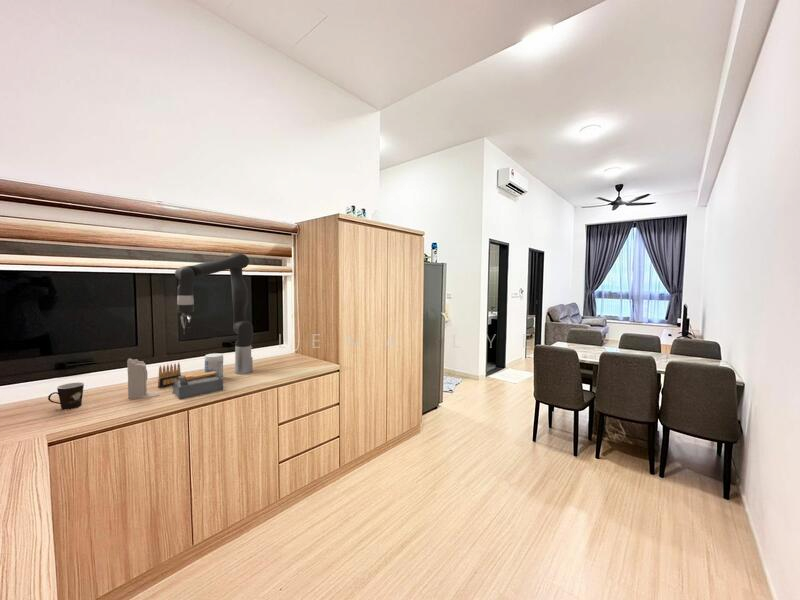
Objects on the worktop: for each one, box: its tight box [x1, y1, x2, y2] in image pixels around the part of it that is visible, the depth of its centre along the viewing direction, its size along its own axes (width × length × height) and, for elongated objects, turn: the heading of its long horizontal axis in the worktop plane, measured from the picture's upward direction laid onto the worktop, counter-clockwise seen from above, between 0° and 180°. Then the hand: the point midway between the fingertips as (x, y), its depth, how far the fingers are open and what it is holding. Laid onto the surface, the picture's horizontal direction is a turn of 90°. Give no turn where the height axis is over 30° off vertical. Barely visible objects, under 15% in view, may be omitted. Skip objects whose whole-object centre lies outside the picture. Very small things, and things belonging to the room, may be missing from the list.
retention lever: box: [183, 371, 216, 379], centre depth 173 cm, size 14×4×2 cm, turn 135°
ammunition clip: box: [157, 362, 182, 389], centre depth 180 cm, size 11×2×12 cm, turn 145°
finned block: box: [172, 370, 224, 400], centre depth 173 cm, size 20×14×9 cm
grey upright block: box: [126, 358, 163, 400], centre depth 164 cm, size 7×14×20 cm, turn 119°
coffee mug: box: [47, 381, 85, 411], centre depth 147 cm, size 12×9×10 cm
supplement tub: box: [204, 352, 224, 379], centre depth 192 cm, size 10×10×15 cm
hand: (186, 334), depth 180 cm, fingers closed
